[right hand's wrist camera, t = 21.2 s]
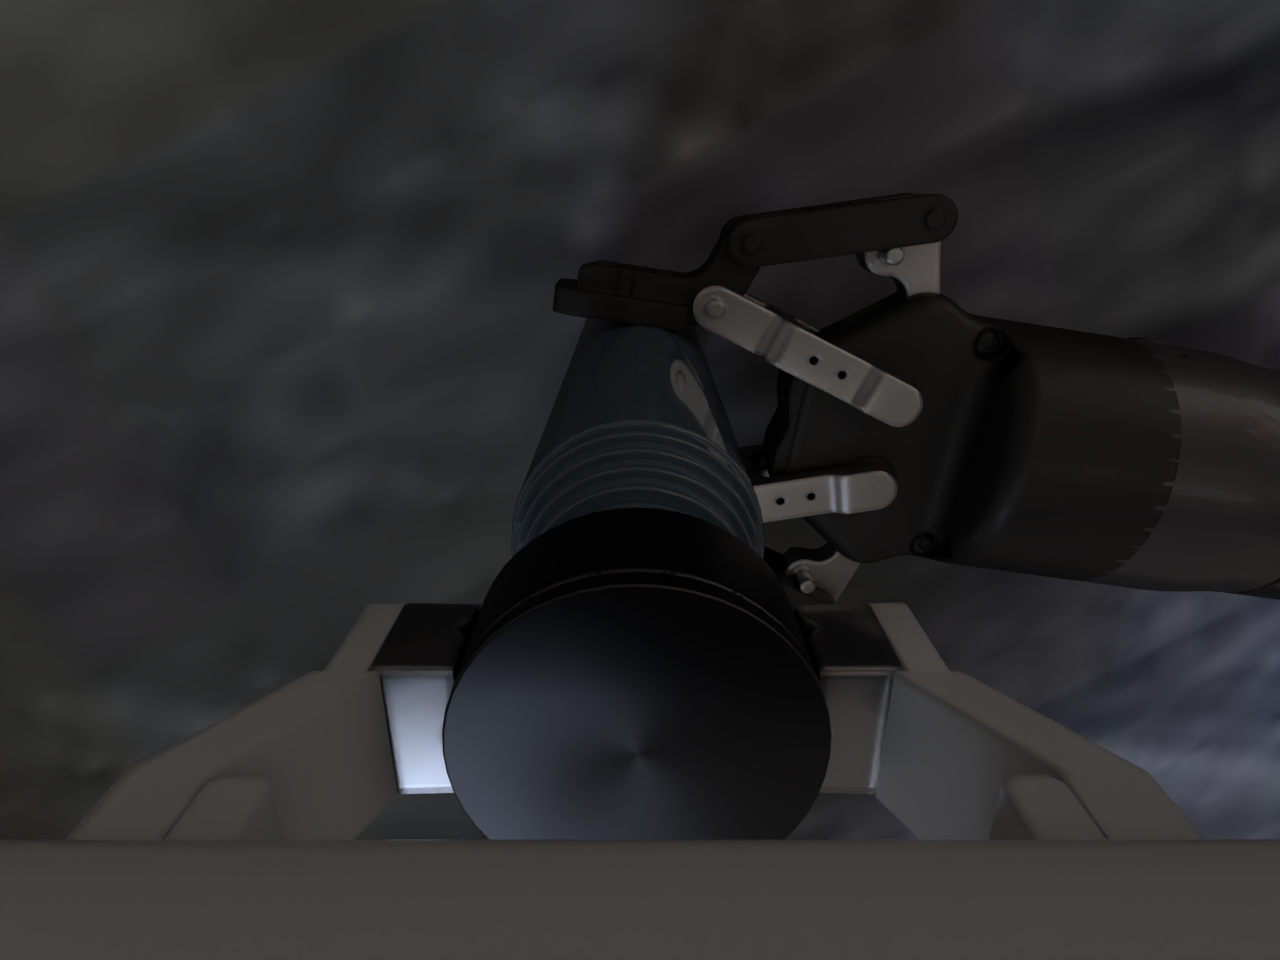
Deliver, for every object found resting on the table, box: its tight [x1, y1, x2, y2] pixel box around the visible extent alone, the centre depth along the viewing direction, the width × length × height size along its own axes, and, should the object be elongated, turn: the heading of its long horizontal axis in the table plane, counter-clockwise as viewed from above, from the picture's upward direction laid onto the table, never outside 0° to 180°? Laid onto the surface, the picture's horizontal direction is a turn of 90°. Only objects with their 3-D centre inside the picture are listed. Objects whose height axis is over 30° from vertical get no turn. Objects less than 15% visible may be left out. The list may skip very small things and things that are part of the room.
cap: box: [442, 507, 832, 840], centre depth 9 cm, size 4×4×2 cm
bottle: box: [512, 318, 764, 559], centre depth 19 cm, size 4×4×21 cm
